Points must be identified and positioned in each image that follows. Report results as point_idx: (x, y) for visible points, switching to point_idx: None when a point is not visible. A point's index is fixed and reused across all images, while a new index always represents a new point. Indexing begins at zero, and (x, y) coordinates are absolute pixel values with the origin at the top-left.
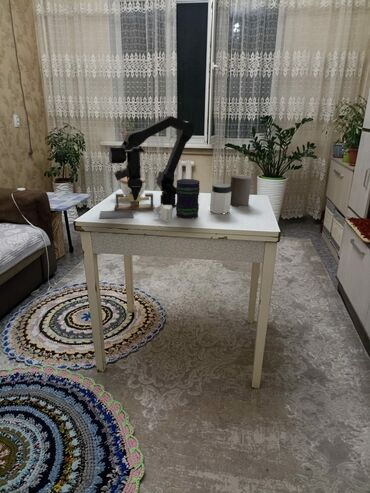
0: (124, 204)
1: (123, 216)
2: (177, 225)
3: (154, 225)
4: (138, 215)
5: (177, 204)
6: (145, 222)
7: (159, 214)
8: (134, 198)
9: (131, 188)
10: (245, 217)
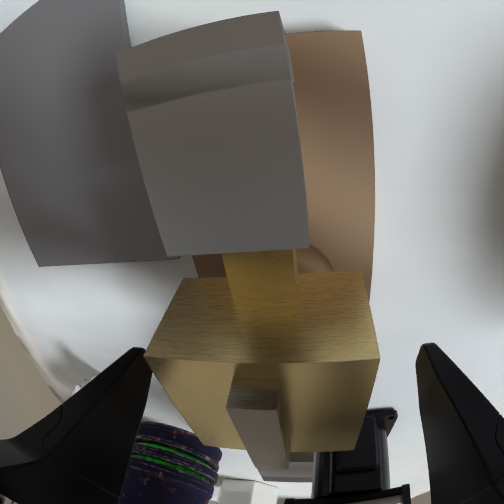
0: (372, 160)
1: (21, 201)
2: (62, 392)
3: (21, 335)
4: (93, 291)
5: (131, 468)
6: (25, 312)
7: None
8: (120, 369)
9: (5, 451)
10: None
